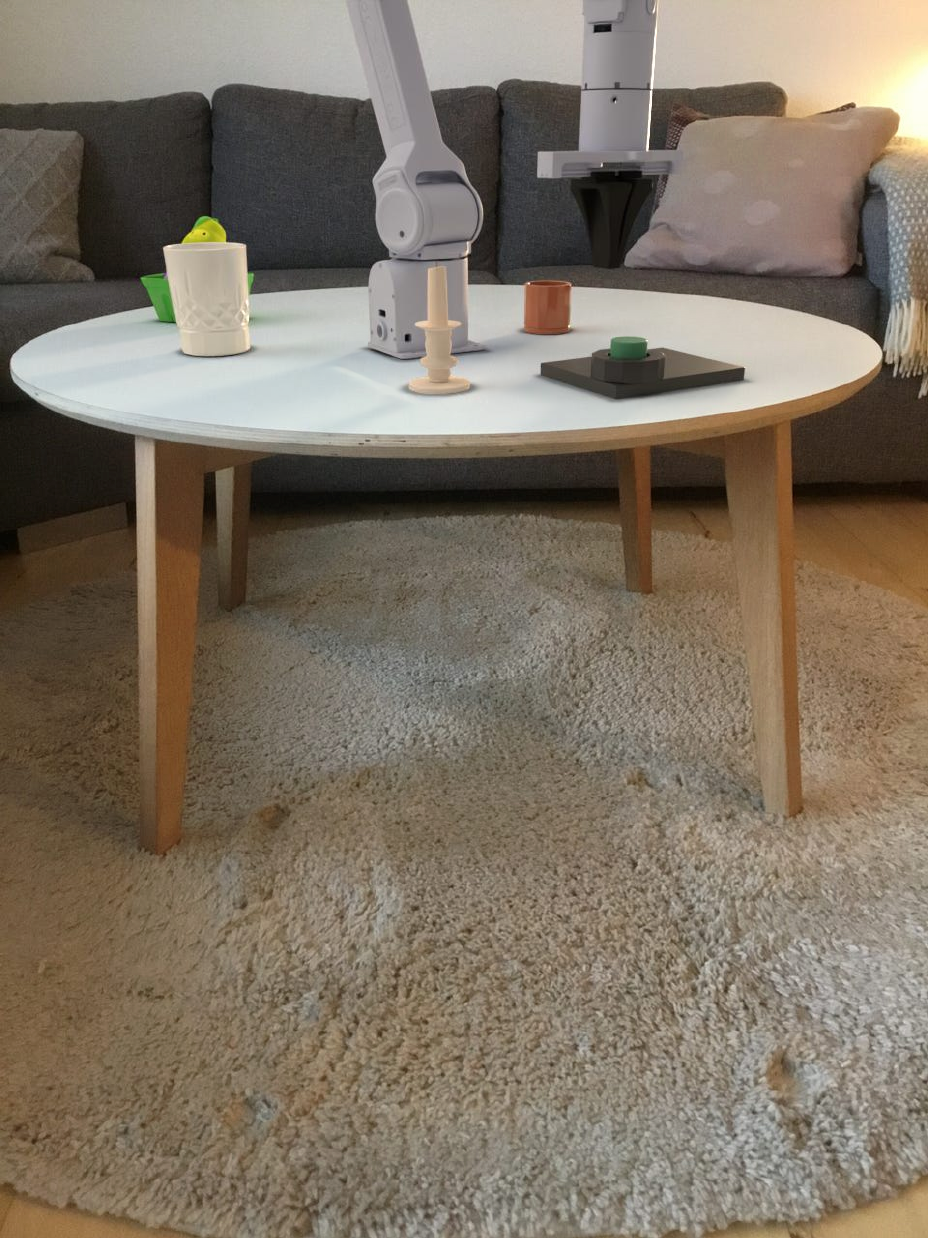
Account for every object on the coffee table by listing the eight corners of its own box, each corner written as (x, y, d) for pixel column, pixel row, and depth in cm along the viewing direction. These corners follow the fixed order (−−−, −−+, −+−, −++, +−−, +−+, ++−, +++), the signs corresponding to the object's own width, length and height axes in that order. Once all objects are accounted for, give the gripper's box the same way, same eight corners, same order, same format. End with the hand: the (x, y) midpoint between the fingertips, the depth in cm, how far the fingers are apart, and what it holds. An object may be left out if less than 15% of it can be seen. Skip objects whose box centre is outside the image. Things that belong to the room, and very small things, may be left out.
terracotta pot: (540, 335, 109) (541, 287, 107) (515, 329, 113) (516, 282, 111) (578, 331, 111) (580, 284, 109) (552, 325, 115) (553, 279, 113)
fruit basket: (142, 322, 119) (128, 219, 114) (188, 311, 126) (177, 214, 121) (224, 327, 115) (213, 221, 110) (266, 316, 122) (258, 215, 117)
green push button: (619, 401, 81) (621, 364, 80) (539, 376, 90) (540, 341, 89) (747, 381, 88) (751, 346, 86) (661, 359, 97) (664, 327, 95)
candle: (396, 387, 87) (392, 259, 82) (445, 378, 89) (443, 254, 85) (432, 398, 83) (429, 264, 78) (482, 389, 86) (482, 259, 81)
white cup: (271, 349, 103) (262, 245, 98) (205, 361, 97) (192, 251, 93) (226, 340, 107) (215, 240, 103) (161, 351, 102) (147, 246, 98)
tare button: (624, 363, 82) (626, 343, 81) (602, 357, 84) (603, 338, 84) (653, 359, 83) (655, 340, 83) (630, 353, 86) (632, 334, 85)
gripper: (581, 86, 75) (573, 278, 81) (715, 90, 83) (699, 265, 88) (522, 90, 80) (519, 269, 86) (654, 93, 88) (642, 258, 94)
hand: (606, 267), depth 88 cm, fingers closed
